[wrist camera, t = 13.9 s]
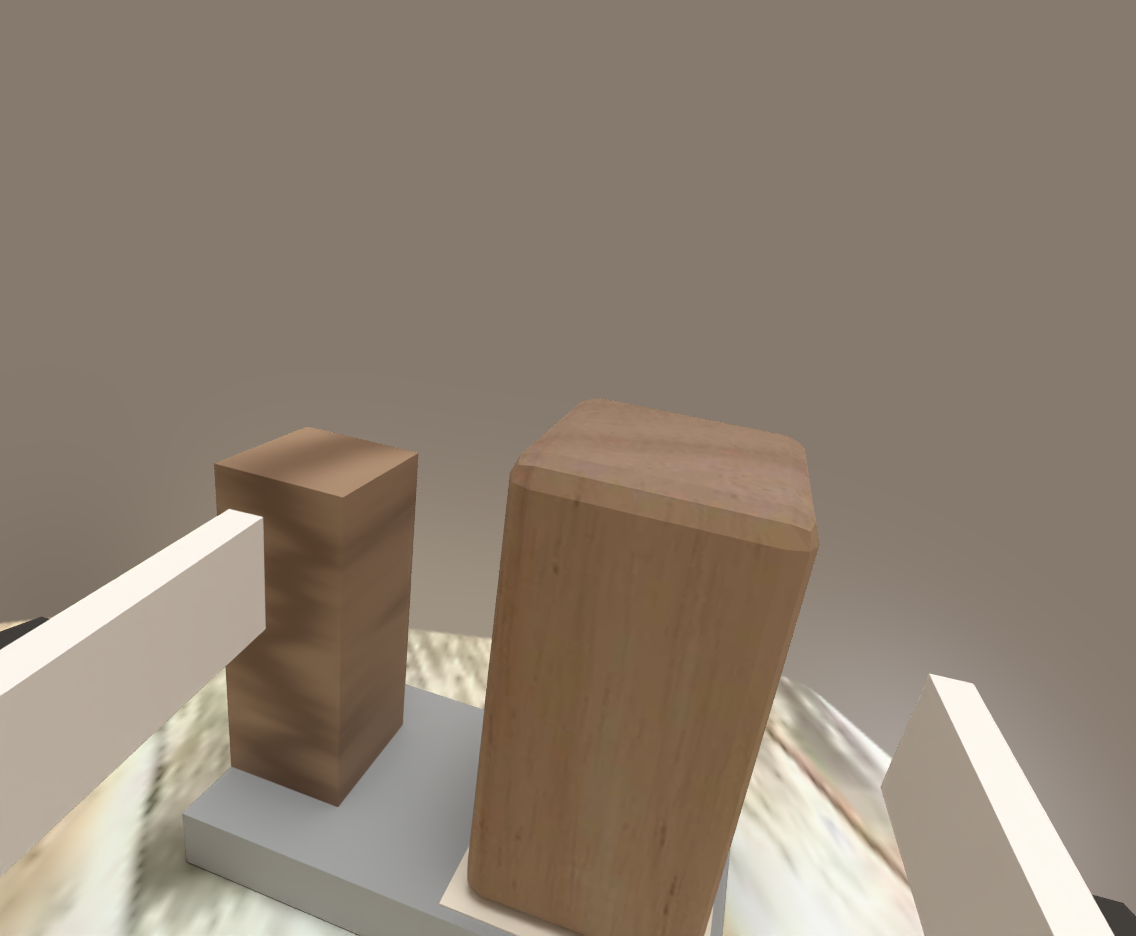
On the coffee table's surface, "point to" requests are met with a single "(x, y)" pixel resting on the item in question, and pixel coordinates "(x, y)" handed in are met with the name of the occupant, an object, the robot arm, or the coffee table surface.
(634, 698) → the block
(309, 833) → the foundation
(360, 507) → the walnut pillar
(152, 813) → the coffee table surface
